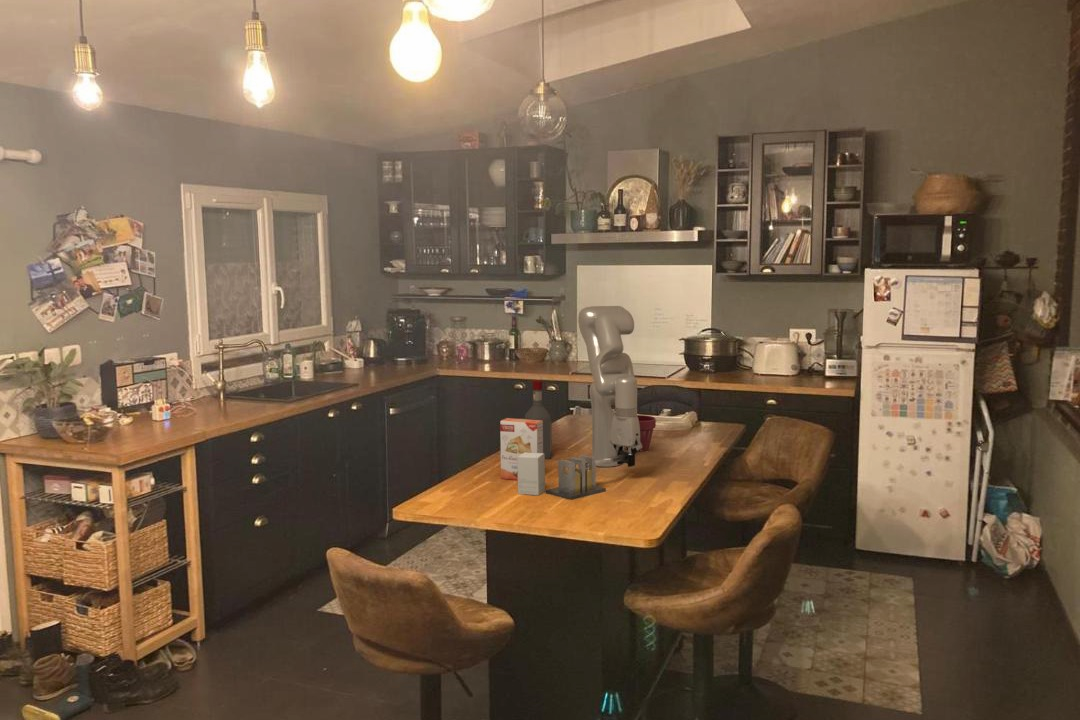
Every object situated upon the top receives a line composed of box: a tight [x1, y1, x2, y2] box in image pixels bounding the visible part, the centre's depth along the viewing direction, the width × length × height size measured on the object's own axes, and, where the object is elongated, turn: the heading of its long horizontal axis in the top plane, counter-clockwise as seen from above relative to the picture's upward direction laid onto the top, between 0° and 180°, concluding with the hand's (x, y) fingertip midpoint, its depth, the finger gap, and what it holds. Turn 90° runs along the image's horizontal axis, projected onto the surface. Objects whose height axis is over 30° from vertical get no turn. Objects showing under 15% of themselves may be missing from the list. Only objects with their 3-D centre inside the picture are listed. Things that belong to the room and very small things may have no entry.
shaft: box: [585, 449, 629, 469], centre depth 302 cm, size 20×4×4 cm, turn 133°
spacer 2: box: [576, 467, 592, 489], centre depth 295 cm, size 2×6×6 cm, turn 43°
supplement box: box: [517, 452, 546, 496], centre depth 292 cm, size 7×7×13 cm
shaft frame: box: [544, 454, 607, 501], centre depth 292 cm, size 16×12×11 cm
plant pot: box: [625, 414, 657, 451], centre depth 360 cm, size 14×14×13 cm
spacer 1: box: [565, 469, 580, 492], centre depth 291 cm, size 2×6×6 cm, turn 43°
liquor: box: [523, 379, 553, 460], centre depth 343 cm, size 9×9×30 cm
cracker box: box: [499, 417, 543, 481], centre depth 310 cm, size 14×6×21 cm, turn 68°
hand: (626, 464), depth 309 cm, fingers closed on shaft, 4 cm apart
